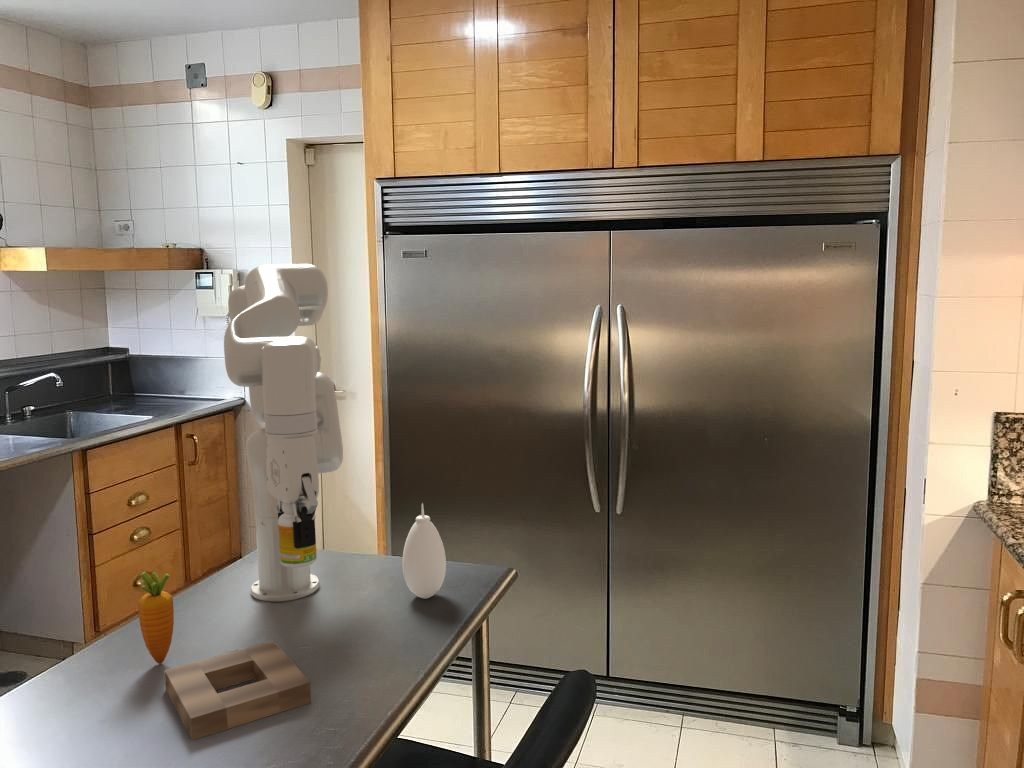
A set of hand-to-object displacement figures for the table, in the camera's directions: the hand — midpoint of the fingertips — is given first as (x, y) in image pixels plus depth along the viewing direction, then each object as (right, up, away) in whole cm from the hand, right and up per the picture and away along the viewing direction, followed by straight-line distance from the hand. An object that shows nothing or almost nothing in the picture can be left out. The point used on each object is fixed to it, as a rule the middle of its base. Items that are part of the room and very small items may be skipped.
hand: (297, 540), depth 124 cm
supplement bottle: (0, -4, 0) cm, 4 cm away
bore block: (-7, -21, -7) cm, 23 cm away
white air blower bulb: (+17, -16, +27) cm, 36 cm away
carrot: (-22, -20, +3) cm, 30 cm away
